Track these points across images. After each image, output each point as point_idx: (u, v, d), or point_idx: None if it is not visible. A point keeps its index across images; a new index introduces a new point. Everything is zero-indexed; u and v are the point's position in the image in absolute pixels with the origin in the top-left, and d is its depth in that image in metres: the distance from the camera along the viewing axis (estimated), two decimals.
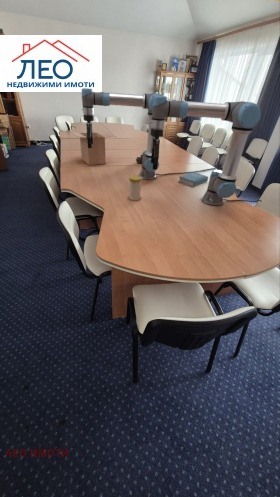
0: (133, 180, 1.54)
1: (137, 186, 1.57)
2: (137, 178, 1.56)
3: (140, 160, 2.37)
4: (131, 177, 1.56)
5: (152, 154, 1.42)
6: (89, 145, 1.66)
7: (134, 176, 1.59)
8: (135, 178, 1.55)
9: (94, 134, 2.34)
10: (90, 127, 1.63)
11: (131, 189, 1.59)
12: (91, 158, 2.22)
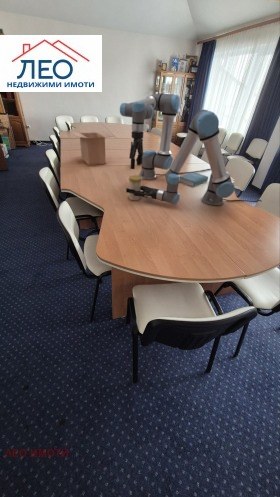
0: (133, 180, 1.54)
1: (137, 186, 1.57)
2: (137, 178, 1.56)
3: None
4: (131, 177, 1.56)
5: None
6: (132, 166, 1.47)
7: (134, 176, 1.59)
8: (135, 178, 1.55)
9: (94, 134, 2.34)
10: None
11: None
12: (91, 158, 2.22)
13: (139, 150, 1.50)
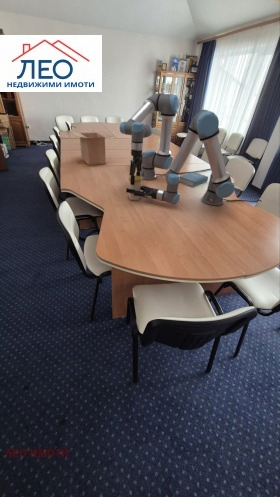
0: None
1: (137, 186, 1.57)
2: (137, 178, 1.56)
3: None
4: None
5: None
6: (132, 182, 1.54)
7: None
8: (135, 178, 1.55)
9: (94, 134, 2.34)
10: None
11: None
12: (91, 158, 2.22)
13: (138, 167, 1.56)
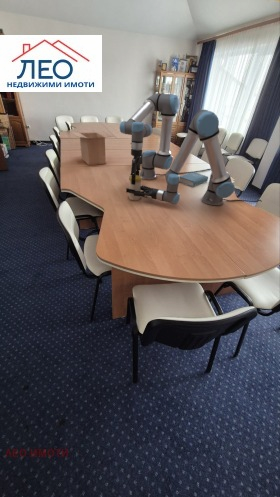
0: (140, 179, 1.56)
1: (137, 186, 1.57)
2: (138, 176, 1.58)
3: (140, 160, 2.37)
4: None
5: None
6: (133, 182, 1.53)
7: None
8: (138, 177, 1.57)
9: (94, 134, 2.34)
10: None
11: None
12: (91, 158, 2.22)
13: (137, 166, 1.56)
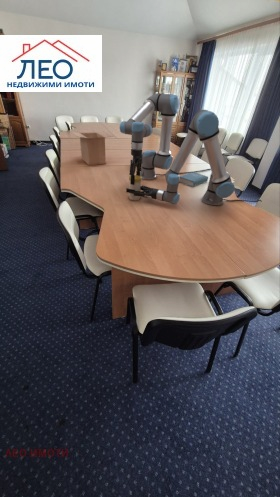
0: (140, 179, 1.56)
1: (137, 186, 1.57)
2: (138, 176, 1.58)
3: None
4: (135, 178, 1.55)
5: None
6: (132, 182, 1.54)
7: None
8: (138, 177, 1.57)
9: (94, 134, 2.34)
10: None
11: None
12: (91, 158, 2.22)
13: (138, 166, 1.56)
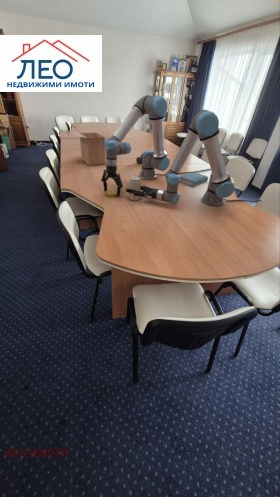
0: None
1: (137, 186, 1.57)
2: (111, 190, 1.70)
3: (140, 160, 2.37)
4: (115, 192, 1.67)
5: None
6: (118, 193, 1.64)
7: (110, 192, 1.66)
8: (113, 191, 1.69)
9: (94, 134, 2.34)
10: None
11: None
12: (91, 158, 2.22)
13: (107, 179, 1.66)
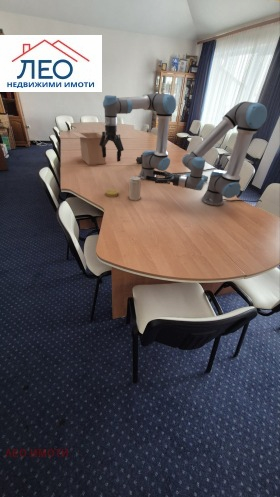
0: None
1: (137, 186, 1.57)
2: (111, 190, 1.70)
3: (140, 160, 2.37)
4: (115, 192, 1.67)
5: None
6: (119, 158, 1.49)
7: (110, 192, 1.66)
8: (113, 191, 1.69)
9: (94, 134, 2.34)
10: None
11: (131, 189, 1.59)
12: (91, 158, 2.22)
13: (106, 143, 1.51)
